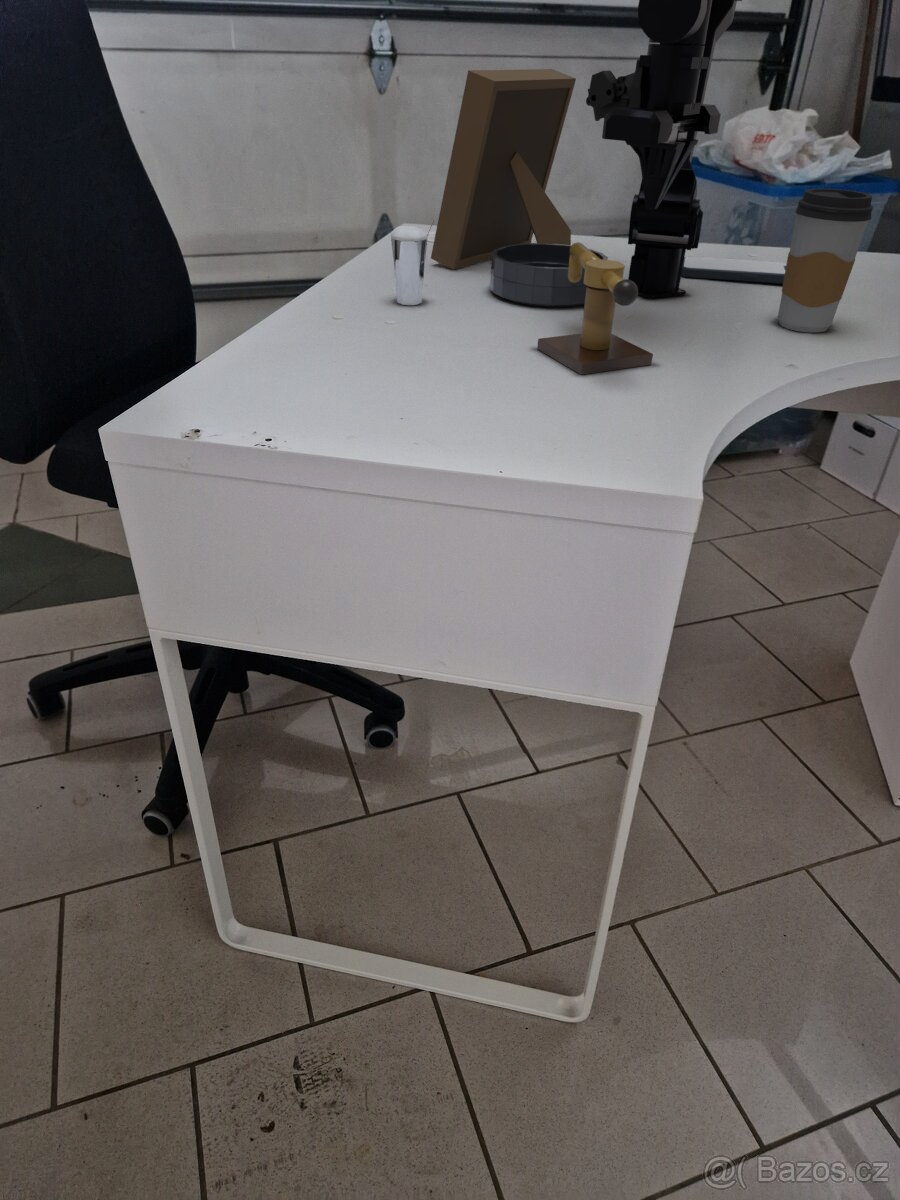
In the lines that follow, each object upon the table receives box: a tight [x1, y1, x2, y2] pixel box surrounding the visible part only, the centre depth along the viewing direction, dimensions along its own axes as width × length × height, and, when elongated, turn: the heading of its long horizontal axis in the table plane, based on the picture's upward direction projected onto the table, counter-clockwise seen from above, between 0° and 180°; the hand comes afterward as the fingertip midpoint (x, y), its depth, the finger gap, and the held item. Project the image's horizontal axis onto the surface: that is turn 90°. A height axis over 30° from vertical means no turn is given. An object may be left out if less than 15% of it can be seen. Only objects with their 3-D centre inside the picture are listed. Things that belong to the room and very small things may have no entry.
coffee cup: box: [777, 188, 874, 334], centre depth 99 cm, size 8×8×15 cm
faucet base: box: [536, 286, 654, 376], centre depth 89 cm, size 9×9×7 cm
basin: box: [489, 242, 609, 308], centre depth 111 cm, size 15×15×5 cm
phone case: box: [681, 256, 787, 285], centre depth 124 cm, size 9×2×16 cm
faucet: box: [568, 242, 639, 307], centre depth 88 cm, size 21×4×5 cm, turn 7°
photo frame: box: [430, 68, 577, 271], centre depth 121 cm, size 15×22×25 cm
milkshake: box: [390, 219, 435, 306], centre depth 104 cm, size 5×5×10 cm
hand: (651, 208), depth 95 cm, fingers closed
